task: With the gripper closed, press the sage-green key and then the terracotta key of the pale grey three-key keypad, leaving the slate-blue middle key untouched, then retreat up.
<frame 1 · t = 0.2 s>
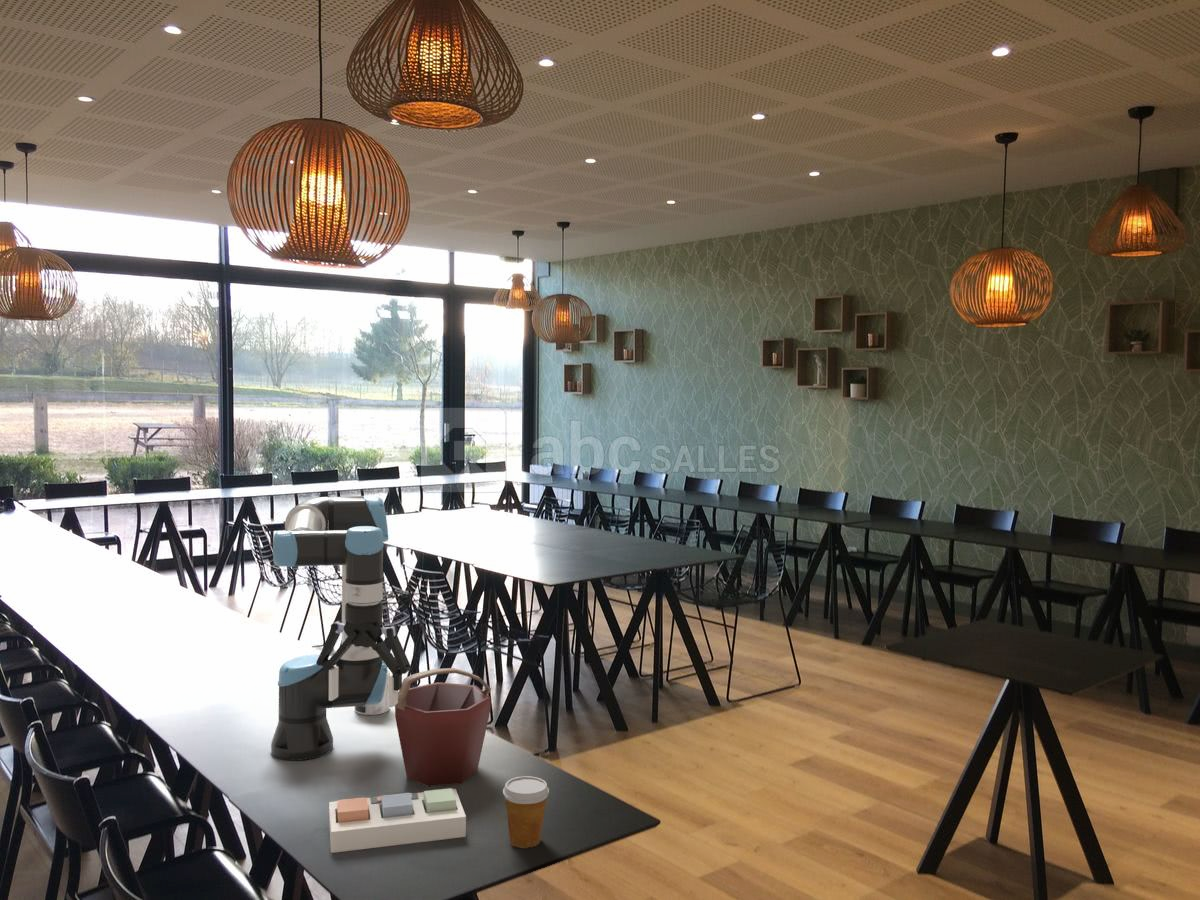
hand: (363, 702, 197), 27 cm above the table, tool pointing down, fingers open, 13 cm apart
sage key: (439, 801, 201), point 5 cm above the table, slide at 0.0 cm
bucket: (440, 771, 229), on the table
slate key: (396, 805, 198), point 5 cm above the table, slide at 0.0 cm
keypad: (396, 829, 199), on the table
disposable coffee cup: (524, 842, 195), on the table
terracotta key: (352, 810, 195), point 5 cm above the table, slide at 0.0 cm
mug: (372, 711, 270), on the table
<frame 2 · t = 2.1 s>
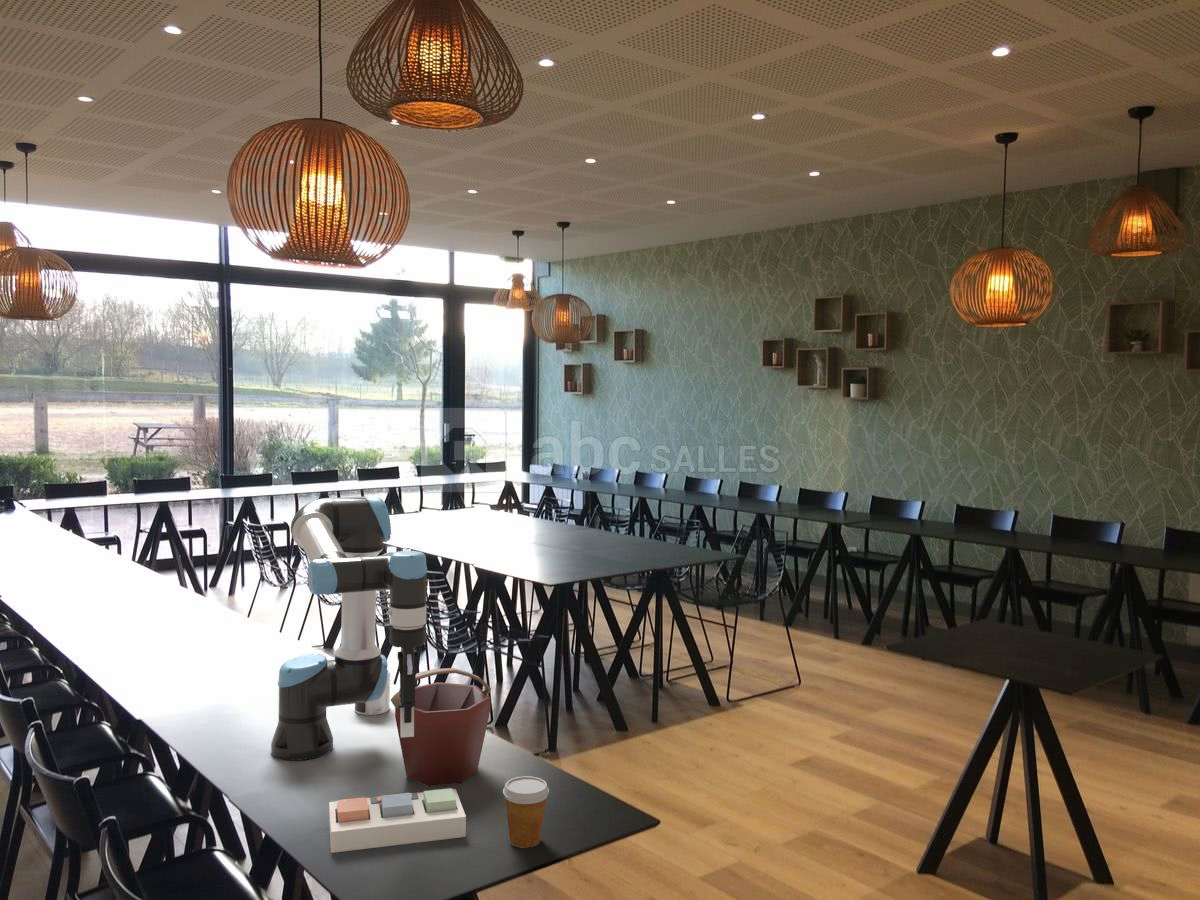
hand: (407, 735, 199), 20 cm above the table, tool pointing down, fingers closed
nothing on the table moved.
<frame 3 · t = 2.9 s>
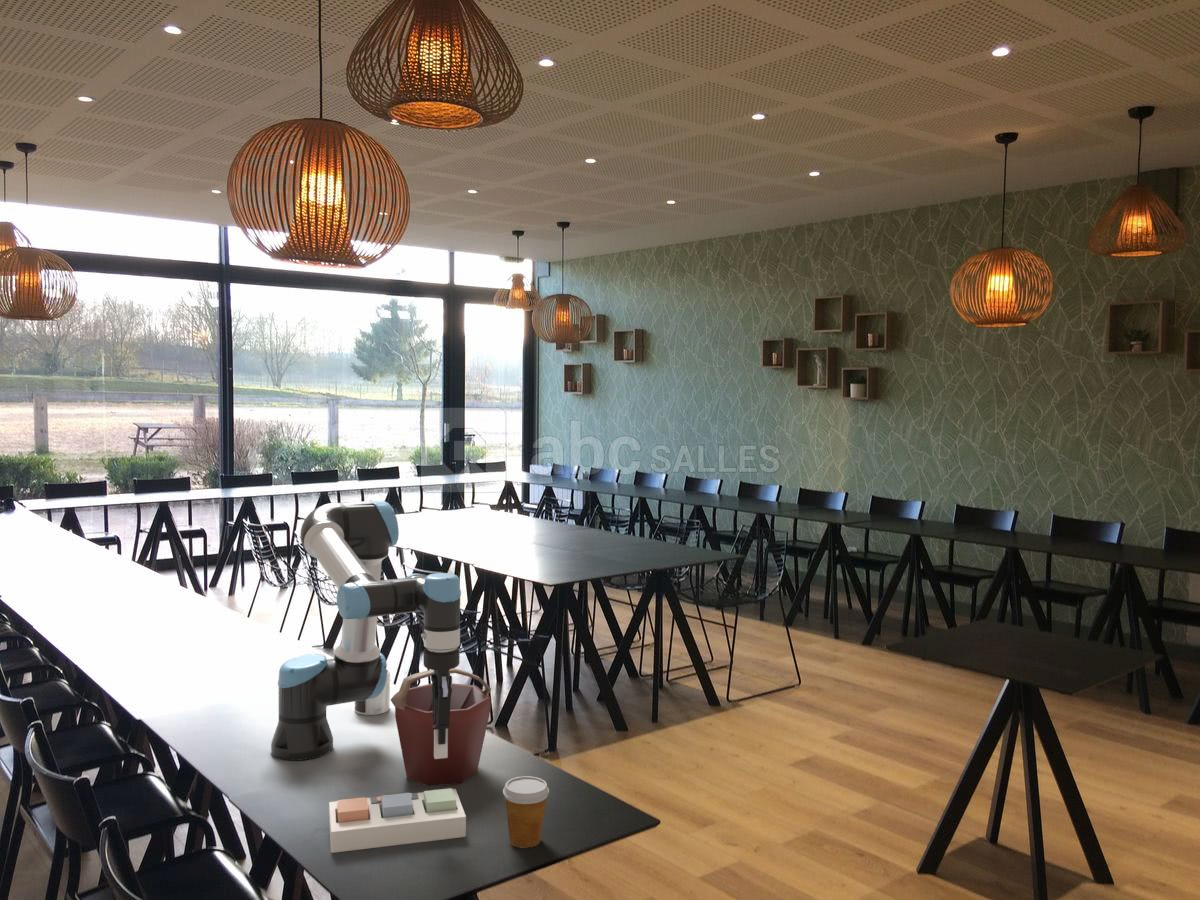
hand: (440, 756, 200), 15 cm above the table, tool pointing down, fingers closed
nothing on the table moved.
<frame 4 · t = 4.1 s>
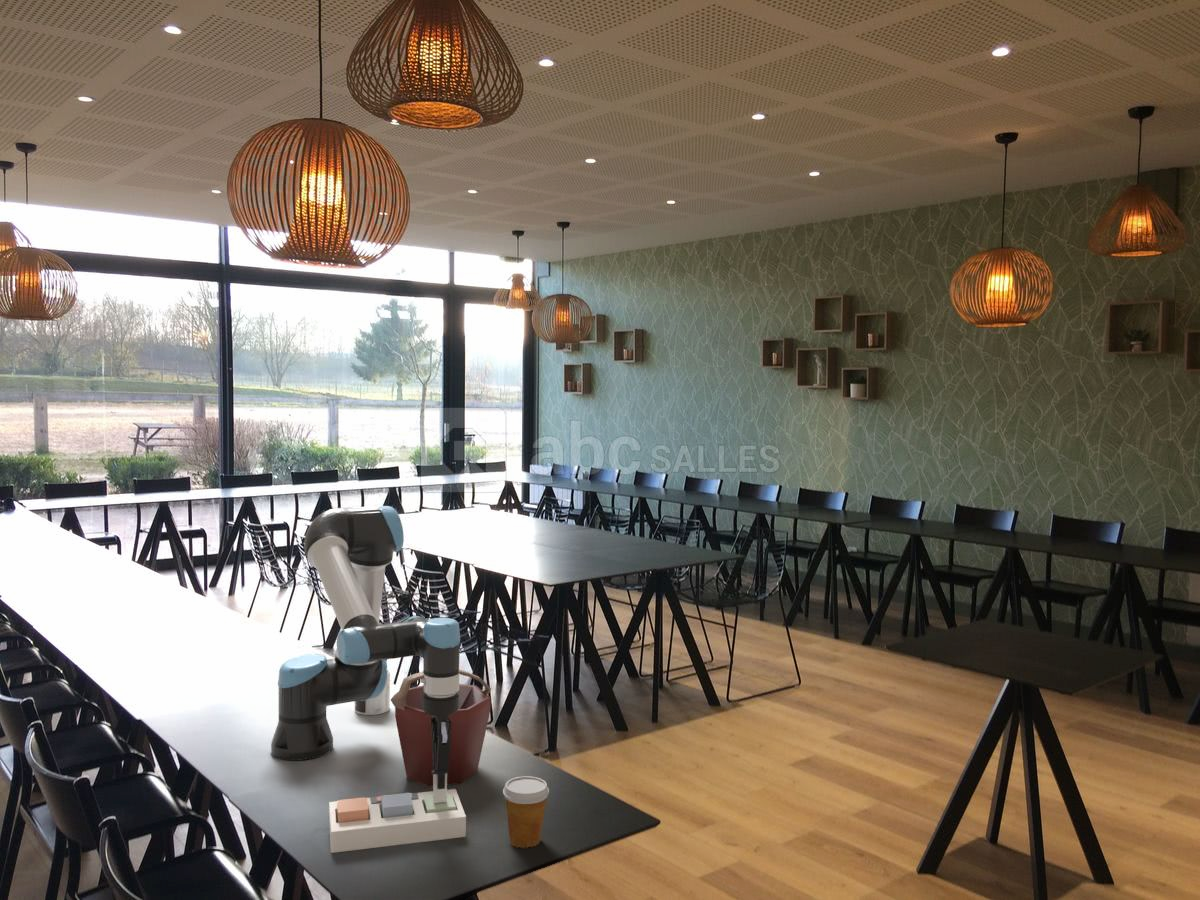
hand: (439, 801, 201), 5 cm above the table, tool pointing down, fingers closed
sage key: (439, 807, 201), point 4 cm above the table, slide at 1.4 cm, touching gripper
everything else where it was.
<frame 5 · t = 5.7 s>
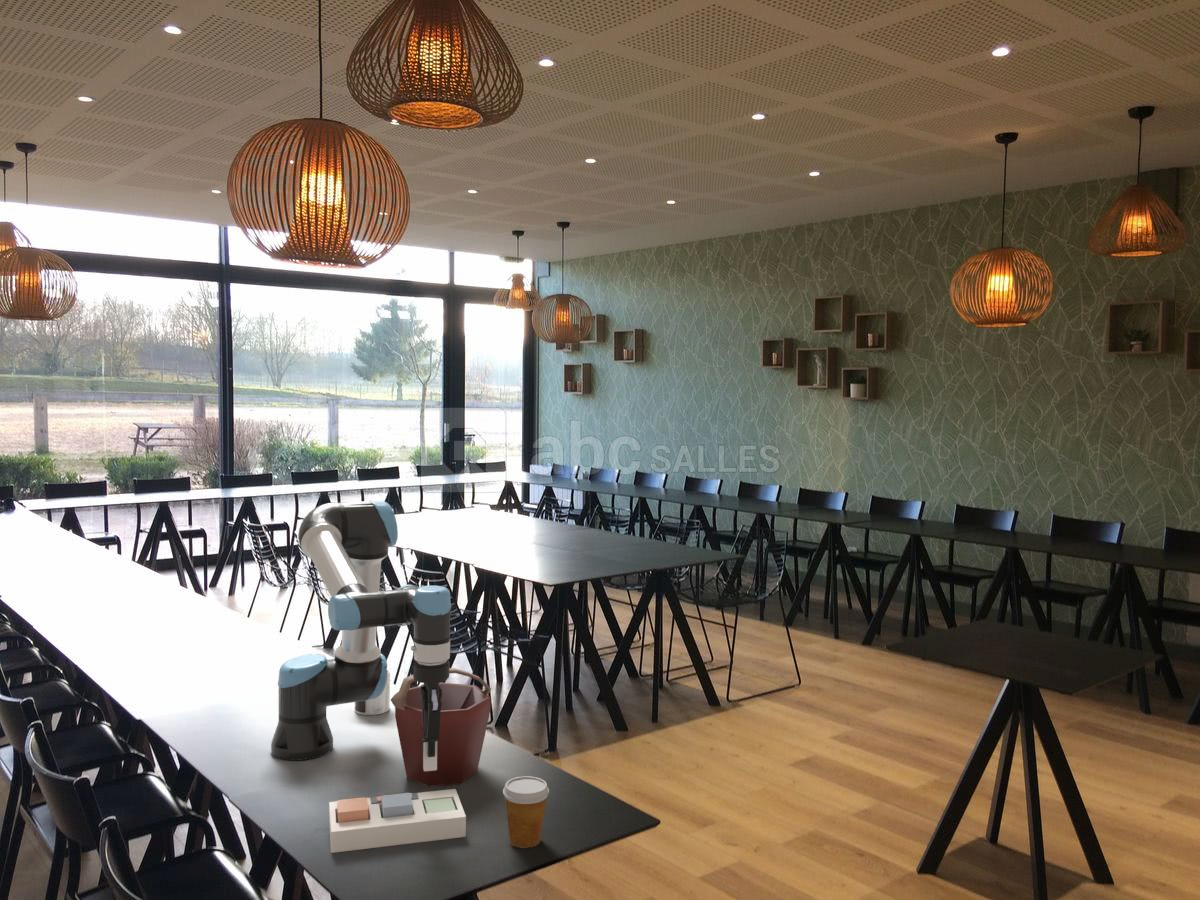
hand: (430, 769, 200), 12 cm above the table, tool pointing down, fingers closed
sage key: (439, 810, 201), point 3 cm above the table, slide at 2.1 cm
everything else where it was.
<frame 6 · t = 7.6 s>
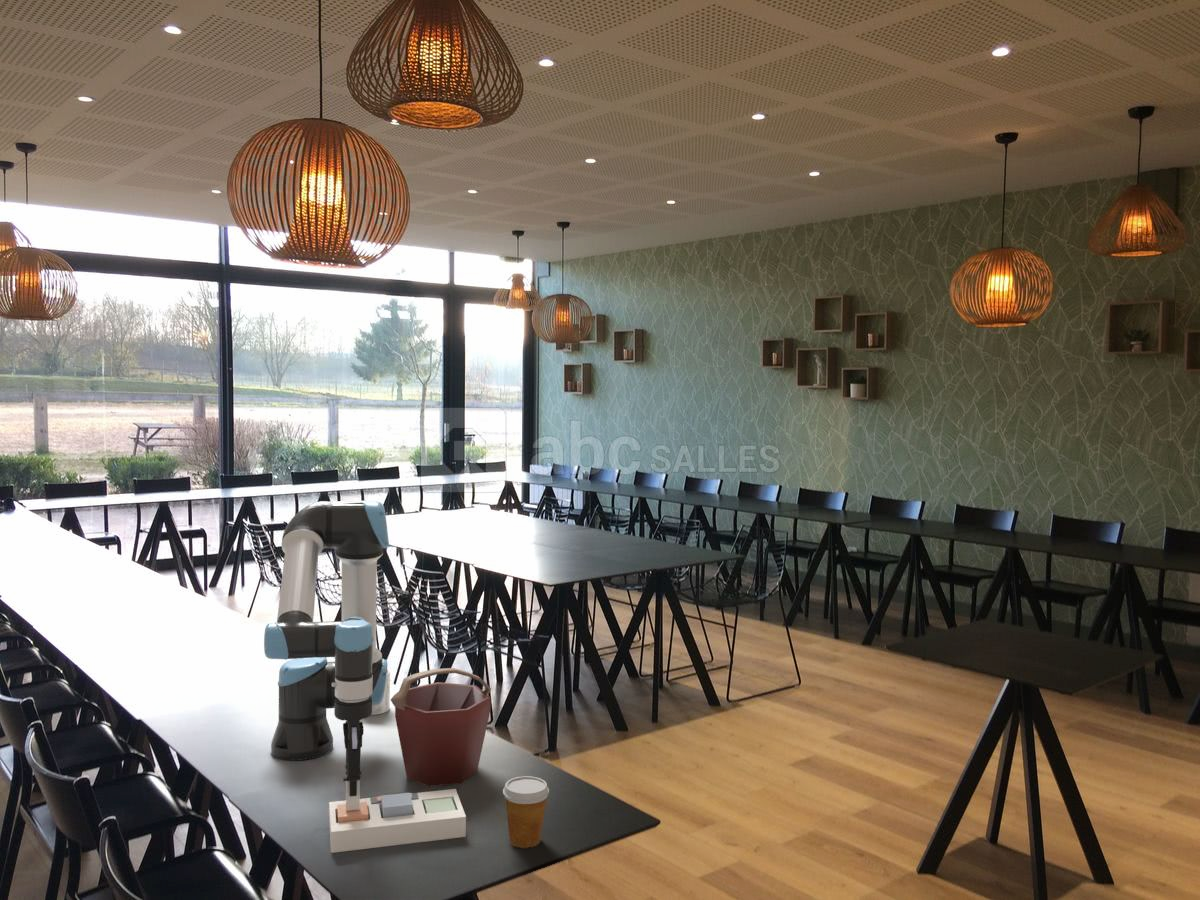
hand: (352, 808, 195), 6 cm above the table, tool pointing down, fingers closed
terracotta key: (352, 815, 196), point 4 cm above the table, slide at 1.0 cm, touching gripper
everything else where it was.
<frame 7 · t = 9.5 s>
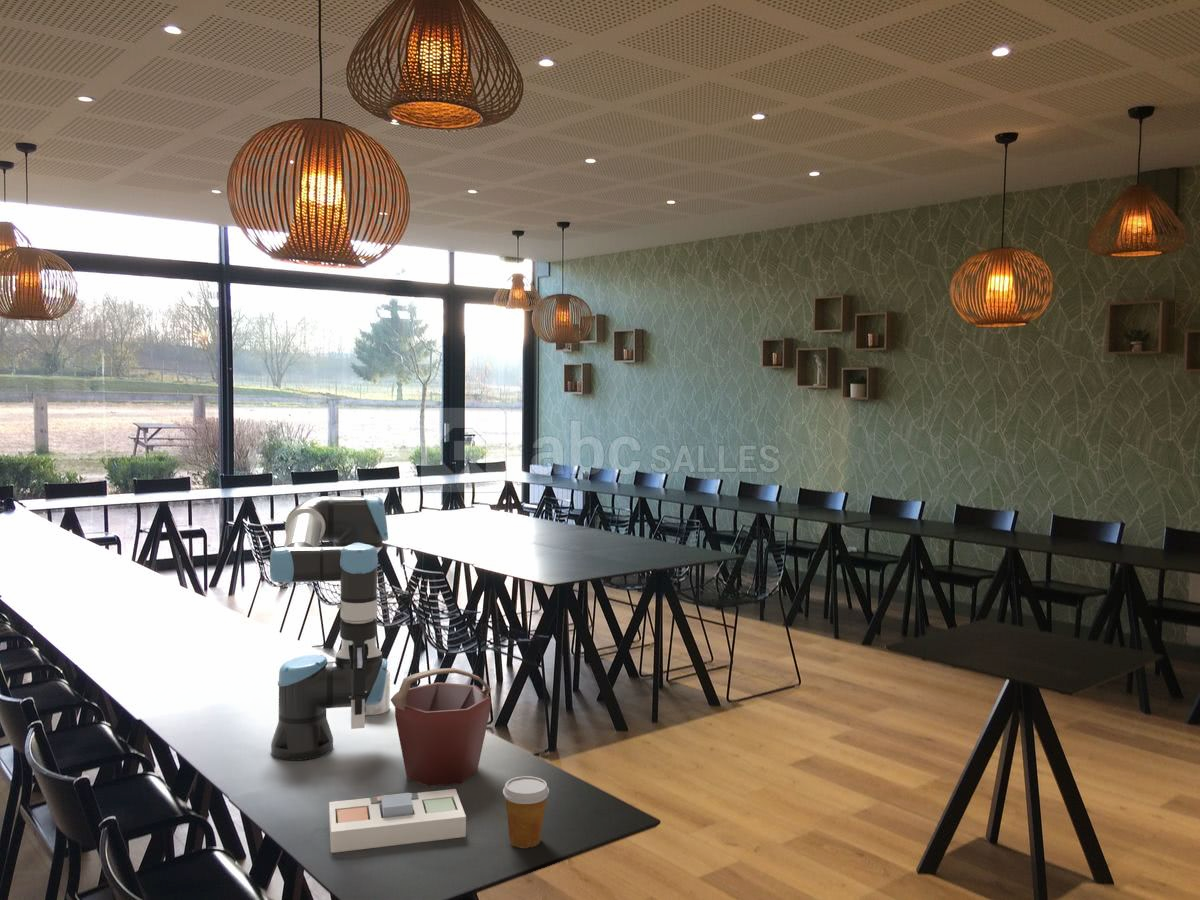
hand: (357, 727, 200), 21 cm above the table, tool pointing down, fingers closed
terracotta key: (352, 820, 196), point 3 cm above the table, slide at 2.2 cm
everything else where it was.
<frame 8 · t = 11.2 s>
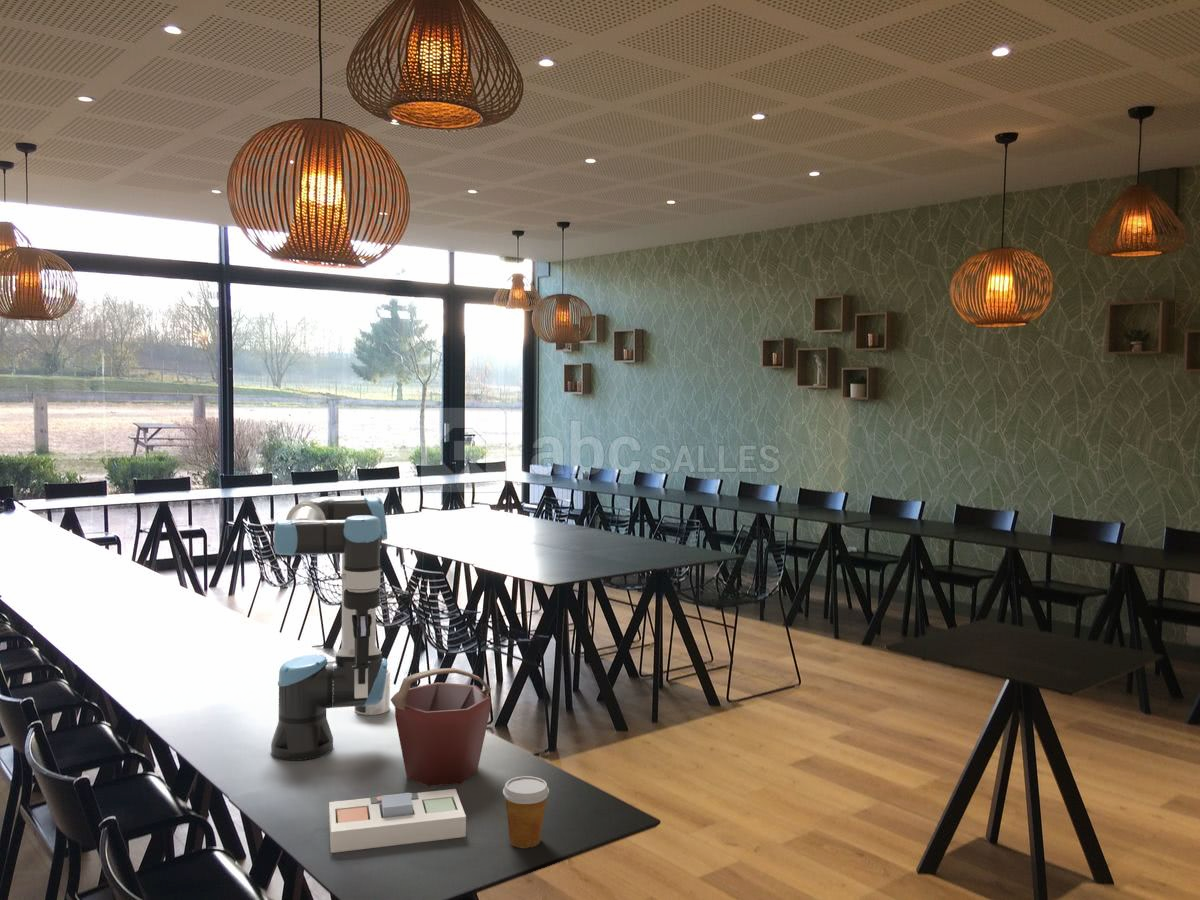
hand: (361, 696, 202), 26 cm above the table, tool pointing down, fingers closed
nothing on the table moved.
at the end: sage key slide at 2.1 cm; terracotta key slide at 2.2 cm; slate key slide at 0.0 cm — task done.
